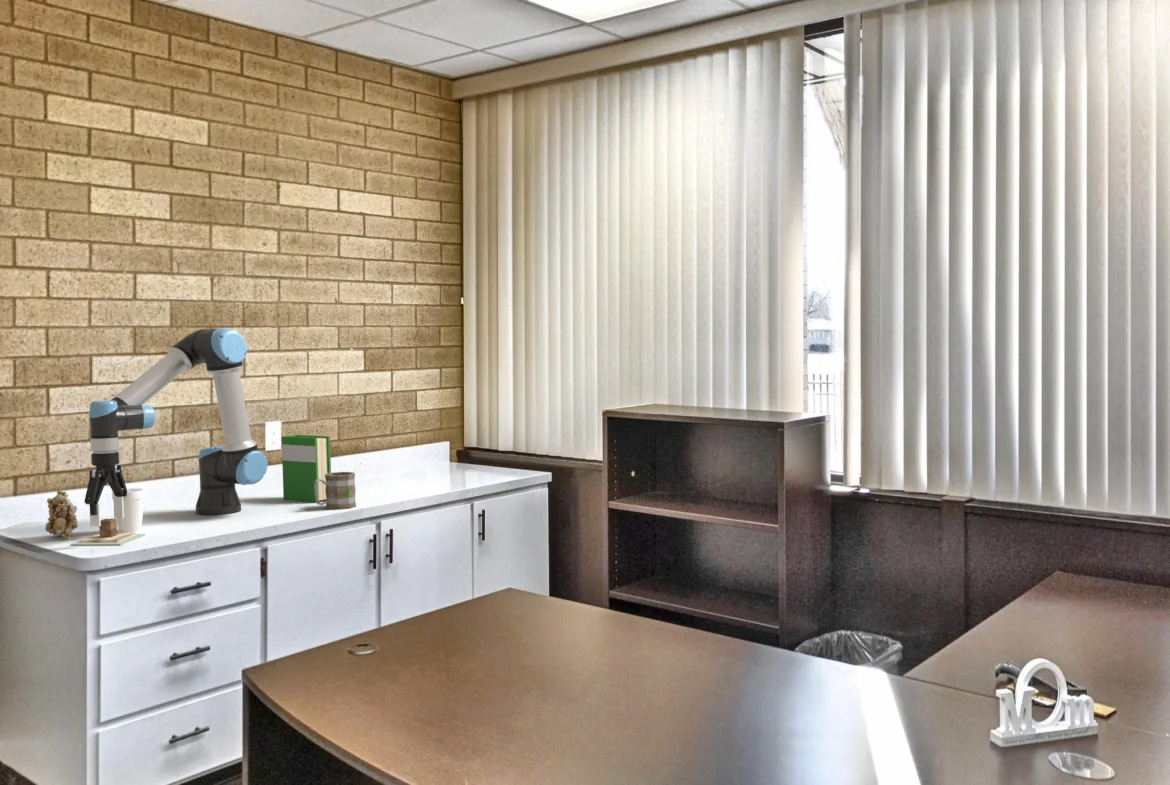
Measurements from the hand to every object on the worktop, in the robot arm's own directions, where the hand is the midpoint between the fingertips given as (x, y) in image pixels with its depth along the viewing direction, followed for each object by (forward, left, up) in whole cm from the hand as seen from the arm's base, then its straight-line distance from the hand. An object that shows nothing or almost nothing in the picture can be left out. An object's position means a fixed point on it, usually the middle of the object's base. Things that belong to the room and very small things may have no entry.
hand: (107, 522), depth 297 cm
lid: (0, 0, -5) cm, 5 cm away
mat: (0, 0, -6) cm, 6 cm away
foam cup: (+1, -15, -6) cm, 16 cm away
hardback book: (-37, -74, -6) cm, 83 cm away
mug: (-53, -55, -6) cm, 77 cm away
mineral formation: (+17, -5, -6) cm, 18 cm away
